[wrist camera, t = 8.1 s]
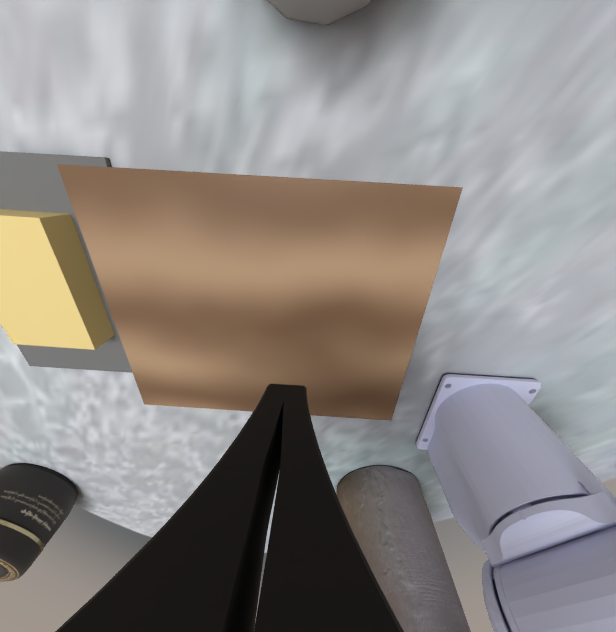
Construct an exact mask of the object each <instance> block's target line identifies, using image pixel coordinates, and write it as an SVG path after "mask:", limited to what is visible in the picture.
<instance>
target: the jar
mask: <svg viewBox="0 0 616 632" xmlns="http://www.w3.org/2000/svg"><path fill="white" fill-rule="evenodd" d="M76 499H77V489H76V487H75V486H74V484H73V483H72V482H71V481H70V480H68V479H67V478H66V477H64V476H62V475H61V474H59V473H57V472H55V471H53V470H50V469H47V468H44V467H41V466H37V465H32V464H14V465H10V466H8V467H4V468H2V469H1V470H0V581H11V580H15V579H17V578H19V577H21V576H22V575H23V574H24V573H25V572H26V571H27V569H28V568H29V567H30V566H31V565H32V563H33V562H34V561H35V559H36V558H37V557H38V556H39V555H40V553H41V552H42V551H43V549H44V547H45V545H46V544H47V543H48V542H49V540H50V539H51V538H52V536H53V535H54V534H55V532H56V531H57V530H58V528H59V527H60V526H61V524H62V523H63V521H64V520H65V519H66V517H67V516H68V515H69V513H70V511H71V509H72V507H73V505H74V503H75V501H76Z"/></svg>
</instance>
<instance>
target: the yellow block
mask: <svg viewBox="0 0 616 632" xmlns="http://www.w3.org/2000/svg"><path fill="white" fill-rule="evenodd" d="M0 323H1V325H2V327H3V328H4V330H5V332H6V333H7V335H8V337H9V338H10V340H11V342H12V343H13V344H19V345H34V346H48V347H62V348H76V349H91V350H95V349H97V348H98V347H99V346H101V345H102V344H103V343H105V342H106V341H107V340H109V339H110V338H111V337H113V336H114V335H115V334H114V332H113V329H112V326H111V323H110V321H109V318H108V315H107V312H106V310H105V307H104V304H103V301H102V299H101V296H100V293H99V290H98V288H97V285H96V282H95V280H94V277H93V274H92V271H91V269H90V266H89V263H88V260H87V258H86V255H85V252H84V249H83V247H82V244H81V241H80V238H79V236H78V233H77V230H76V228H75V225H74V222H73V219H72V217H71V214H63V213H49V212H34V211H19V210H5V209H0Z"/></svg>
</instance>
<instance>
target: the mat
mask: <svg viewBox="0 0 616 632" xmlns="http://www.w3.org/2000/svg"><path fill="white" fill-rule="evenodd" d="M57 164H62V165H80V166H97V167H111V165H110V162H109V158H104V157H86V156H69V155H51V154H34V153H17V152H0V209H5V210H19V211H34V212H49V213H63V214H71V217H72V219H73V222H74V225H75V228H76V230H77V233H78V236H79V238H80V241H81V244H82V247H83V249H84V252H85V255H86V258H87V260H88V263H89V266H90V269H91V271H92V274H93V277H94V280H95V282H96V285H97V288H98V290H99V293H100V296H101V299H102V301H103V304H104V307H105V310H106V312H107V315H108V318H109V321H110V323H111V326H112V329H113V332H114V334H115V335H114V336H113V337H111V338H110V339H109V340H107V341H106V342H105V343H103V344H102V345H101V346H99V347H98V348H97V349H95V350H91V349H76V348H62V347H48V346H34V345H19V344H17V346H18V347H19V349H20V351H21V352H22V354H23V356H24V357H25V359H26V361H27V362H28V364H29V365H30V366H39V367H55V368H70V369H86V370H102V371H117V372H132V369H131V366H130V364H129V361H128V358H127V355H126V353H125V350H124V347H123V344H122V342H121V339H120V336H119V334H118V331H117V328H116V325H115V323H114V320H113V317H112V314H111V312H110V309H109V306H108V303H107V301H106V298H105V295H104V292H103V290H102V287H101V284H100V282H99V279H98V276H97V273H96V271H95V268H94V265H93V262H92V260H91V257H90V254H89V251H88V249H87V246H86V243H85V240H84V238H83V235H82V232H81V229H80V227H79V224H78V221H77V219H76V216H75V213H74V210H73V208H72V205H71V202H70V199H69V197H68V194H67V191H66V188H65V186H64V183H63V180H62V177H61V175H60V172H59V169H58V167H57Z"/></svg>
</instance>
